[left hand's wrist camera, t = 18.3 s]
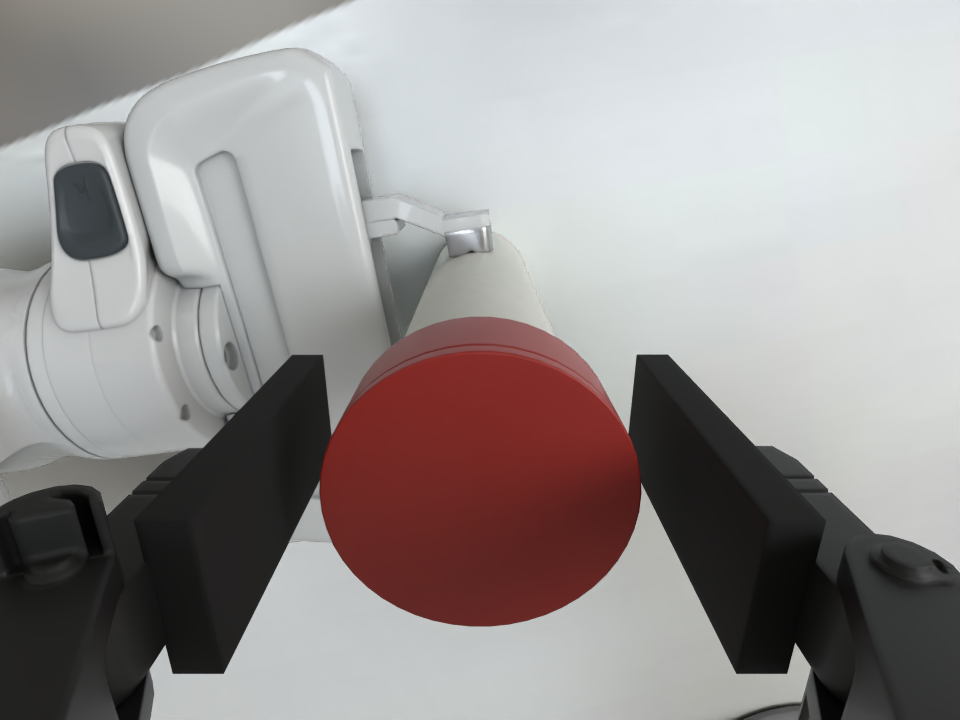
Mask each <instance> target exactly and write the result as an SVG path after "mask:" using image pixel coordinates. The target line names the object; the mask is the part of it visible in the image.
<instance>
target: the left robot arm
mask: <svg viewBox="0 0 960 720" xmlns="http://www.w3.org/2000/svg"><path fill="white" fill-rule="evenodd" d="M331 436H332V435H331V425H330V416H329V406H328V396H327V387H326V377H325V367H324V358H323V355H291V356H290V357H289V359H288V360H287V361H286V362H285V363H284V364H283V365H282V366H281V367H280V368H279V369H278V370H277V371H276V372H275V373H274V374H273V375H272V376H271V377H270V378H269V379H268V380H267V382H266V383H265V384H264V385H263V386H262V387H261V388H260V389H259V390H258V391H257V392H256V393H255V394H254V395H253V396H252V397H251V398H250V399H249V400H248V401H247V402H246V403H245V405H244V406H243V407H242V408H241V409H240V410H239V411H238V412H237V413H236V414H235V415H234V416H233V417H232V418H231V419H230V420H229V421H228V422H227V423H226V424H225V425H224V426H223V428H222V429H221V430H220V431H219V432H218V433H217V434H216V435H215V436H214V437H213V438H212V439H211V440H210V441H209V442H208V443H207V444H206V445H205V446H204V447H203V448H187V449H186V450H184V451H182V452H180V453H178V454H177V455H175V456H173V457H171V458H169V459H168V460H166V461H164V462H163V463H162V464H161V465H159V466H158V467H157V468H156V469H155V470H154V471H153V472H152V473H151V474H150V475H149V476H148V477H147V480H146V481H143V482H142V483H141V484H140V485H139V486H138V487H137V488H135V489H134V490H133V493H132V495H128V496H127V497H126V498H125V499H124V500H123V501H122V502H121V503H120V504H119V505H118V506H117V507H116V508H115V509H114V510H113V511H111V512H110V513H109V514H108V515H106V511H105V508H104V504H103V500H102V497H101V493H100V492H99V491H97V490H96V489H94V488H93V487H91V486H83V485H66V486H56V487H51V488H47V489H43V490H39V491H36V492H32V493H29V494H26V495H24V496H21V497H19V498H16V499H14V500H11V501H9V502H7V503H5V504H3V505H2V506H0V720H150V717H151V711H152V704H153V698H154V689H153V681H152V678H151V674H150V671H149V669H150V667H151V666H152V664H153V663H154V661H155V660H156V658H157V657H158V655H159V654H160V652H161V650H162V649H163V647H164V646H165V645H166V649H167V653H168V656H169V660H170V664H171V668H172V672H173V674H224V672H225V670H226V668H227V666H228V664H229V662H230V660H231V658H232V656H233V654H234V652H235V650H236V648H237V646H238V644H239V642H240V640H241V638H242V636H243V634H244V632H245V630H246V628H247V626H248V624H249V622H250V620H251V618H252V616H253V614H254V612H255V610H256V608H257V606H258V604H259V602H260V600H261V598H262V596H263V594H264V592H265V590H266V587H267V585H268V583H269V581H270V579H271V577H272V575H273V573H274V571H275V569H276V567H277V565H278V563H279V561H280V559H281V557H282V555H283V553H284V551H285V549H286V547H287V545H288V543H289V541H290V539H291V537H292V535H293V533H294V531H295V529H296V527H297V525H298V523H299V521H300V519H301V517H302V515H303V513H304V511H305V509H306V507H307V505H308V503H309V501H310V499H311V497H312V495H313V493H314V491H315V489H316V487H317V485H318V483H319V481H320V472H321V467H322V462H323V457H324V454H325V451H326V448H327V446H328V443H329V440H330V438H331ZM629 436H630V438H631V441H632V443H633V446H634V449H635V452H636V455H637V458H638V463H639V468H640V474H641V483H642V485H643V487H644V489H645V491H646V493H647V495H648V497H649V499H650V501H651V503H652V505H653V507H654V509H655V511H656V513H657V515H658V517H659V519H660V521H661V523H662V525H663V527H664V529H665V531H666V533H667V535H668V537H669V539H670V541H671V543H672V545H673V547H674V549H675V551H676V553H677V555H678V557H679V559H680V561H681V563H682V565H683V567H684V569H685V571H686V573H687V575H688V577H689V579H690V581H691V583H692V585H693V587H694V590H695V592H696V594H697V596H698V598H699V600H700V602H701V604H702V606H703V608H704V610H705V612H706V614H707V616H708V618H709V620H710V622H711V624H712V626H713V628H714V630H715V632H716V634H717V636H718V638H719V640H720V642H721V644H722V646H723V648H724V650H725V652H726V654H727V656H728V658H729V660H730V662H731V664H732V666H733V668H734V670H735V672H736V674H787V672H788V668H789V664H790V660H791V656H792V653H793V649H794V645H795V643H796V644H797V646H798V647H799V649H800V651H801V652H802V654H803V655H804V657H805V658H806V660H807V661H808V663H809V664H810V666H811V671H810V674H809V678H808V681H807V685H806V689H805V692H804V696H803V699H802V703H801V705H797V706H788V707H782V708H776V709H772V710H768V711H764V712H761V713H758V714H755V715H752V716H750V717H747V718H745V719H743V720H960V573H959V572H958V570H957V569H956V568H955V567H954V566H953V565H952V564H950V563H949V562H948V561H946V560H945V559H943V558H942V557H940V556H939V555H937V554H936V553H935V552H932V551H930V550H928V549H926V548H924V547H922V546H920V545H917V544H915V543H913V542H910V541H907V540H903V539H900V538H897V537H893V536H889V535H880V534H875V533H873V532H872V531H871V530H870V529H869V528H868V527H867V526H866V525H865V524H864V523H863V522H862V521H861V520H860V519H859V518H858V517H857V516H856V515H855V514H854V513H852V512H851V511H850V510H849V509H848V508H847V507H846V506H845V505H844V504H843V503H842V502H841V501H840V500H839V499H838V498H837V497H836V496H835V495H834V494H832V493H828V489H827V488H826V487H825V486H824V485H823V484H822V483H821V482H820V481H819V480H818V479H814V475H812V474H811V473H810V472H809V471H808V470H807V469H806V468H805V467H804V466H803V465H802V464H801V463H800V462H799V461H798V460H796V459H795V458H793V457H791V456H789V455H787V454H785V453H784V452H782V451H780V450H778V449H776V448H775V447H773V446H755V445H754V444H753V443H752V442H751V441H750V440H749V439H748V438H747V437H746V436H745V435H744V434H743V433H742V432H741V431H740V430H739V429H738V428H737V426H736V425H735V424H734V423H733V422H732V421H731V420H730V419H729V418H728V417H727V416H726V415H725V414H724V413H723V412H722V411H721V410H720V409H719V408H718V407H717V406H716V405H715V403H714V402H713V401H712V400H711V399H710V398H709V397H708V396H707V395H706V394H705V393H704V392H703V391H702V390H701V389H700V388H699V387H698V386H697V385H696V384H695V383H694V382H693V380H692V379H691V378H690V377H689V376H688V375H687V374H686V373H685V372H684V371H683V370H682V369H681V368H680V367H679V366H678V365H677V364H676V363H675V362H674V361H673V360H672V359H671V357H670V356H669V355H637V358H636V367H635V377H634V387H633V396H632V406H631V416H630V425H629Z"/></svg>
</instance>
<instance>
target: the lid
mask: <svg viewBox="0 0 960 720" xmlns="http://www.w3.org/2000/svg"><path fill="white" fill-rule="evenodd" d="M319 494H320V503H321V511H322V515H323V519H324V522H325V526H326V529H327V532H328V534H329V536H330V539H331V541H332V543H333V545H334V547H335V549H336V550H337V552H338V553H339V555H340V557H341V558H342V560H343V561H344V563H345V564H346V565H347V566H348V568H349V569H350V570H351V571H352V572H353V574H354V575H355V576H356V577H357V578H358V579H359V580H360V581H362V582H363V583H364V584H365V585H366V586H367V587H368V588H369V589H371V590H372V591H373V592H375V593H376V594H377V595H379V596H380V597H381V598H383V599H385V600H386V601H388V602H390V603H391V604H393V605H395V606H397V607H399V608H401V609H403V610H405V611H408V612H410V613H412V614H414V615H417V616H420V617H423V618H427V619H430V620H433V621H438V622H442V623H447V624H452V625H462V626H499V625H509V624H513V623H518V622H523V621H528V620H531V619H534V618H537V617H540V616H544V615H546V614H549V613H551V612H553V611H555V610H558V609H560V608H562V607H564V606H566V605H567V604H569V603H571V602H573V601H574V600H576V599H578V598H579V597H581V596H582V595H583V594H585V593H586V592H587V591H589V590H590V589H591V588H593V587H594V586H595V585H596V584H597V583H598V582H599V581H600V580H601V579H602V578H603V577H604V576H605V575H606V574H607V573H608V572H609V571H610V570H611V568H612V567H613V566H614V565H615V563H616V562H617V561H618V559H619V558H620V556H621V555H622V553H623V551H624V550H625V548H626V546H627V545H628V542H629V540H630V538H631V535H632V533H633V531H634V528H635V525H636V521H637V517H638V514H639V509H640V501H641V474H640V468H639V463H638V458H637V455H636V452H635V449H634V446H633V443H632V441H631V438H630V436H629V435H628V433H627V431H626V429H625V427H624V425H623V423H622V422H621V420H620V418H619V416H618V414H617V412H616V410H615V409H614V407H613V405H612V403H611V401H610V399H609V397H608V396H607V394H606V392H605V390H604V388H603V386H602V384H601V383H600V381H599V379H598V377H597V376H596V374H595V373H594V372H593V370H592V369H591V368H590V366H589V365H588V364H587V362H586V361H585V360H584V359H583V358H582V357H581V356H580V355H579V354H578V353H577V352H576V351H575V350H573V349H572V348H571V347H569V346H568V345H567V344H565V343H564V342H563V341H561V340H560V339H558V338H556V337H555V336H553V335H551V334H549V333H548V332H546V331H544V330H541V329H539V328H536V327H534V326H531V325H529V324H526V323H522V322H518V321H515V320H511V319H505V318H497V317H464V318H456V319H450V320H446V321H442V322H438V323H434V324H432V325H429V326H427V327H424V328H422V329H419V330H417V331H415V332H413V333H411V334H410V335H408V336H406V337H404V338H402V339H401V340H399V341H398V342H397V343H395V344H394V345H393V346H391V347H390V348H389V349H387V350H386V351H385V352H384V353H383V354H382V355H381V356H380V357H379V358H378V359H377V360H376V361H375V362H374V363H373V364H372V366H371V367H370V368H369V370H368V371H367V372H366V374H365V375H364V376H363V378H362V380H361V382H360V384H359V385H358V387H357V389H356V391H355V393H354V395H353V397H352V398H351V400H350V402H349V404H348V406H347V408H346V410H345V412H344V413H343V415H342V417H341V419H340V421H339V423H338V425H337V426H336V428H335V430H334V432H333V434H332V436H331V438H330V440H329V443H328V446H327V448H326V451H325V454H324V457H323V462H322V467H321V472H320V488H319Z"/></svg>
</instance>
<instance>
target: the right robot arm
mask: <svg viewBox="0 0 960 720" xmlns="http://www.w3.org/2000/svg"><path fill="white" fill-rule="evenodd" d="M45 165H46V175H47V186H48V197H49V209H50V224H51V262H49V263H47V264H45V265H43V266H41V267H40V268H38V269H35V270H32V271H20V270H14V269H7V268H0V474H3V473H11V472H19V471H24V470H29V469H34V468H38V467H41V466H44V465H47V464H49V463H52V462H54V461H56V460H58V459H61V458H63V457H66V456H80V457H85V458H91V459H104V460H109V459H120V458H129V457H137V456H145V455H153V454H161V453H169V452H176V451H183V450H186V449H187V448H203V447H204V446H205V445H206V444H207V443H208V442H209V441H210V440H211V439H212V438H213V437H214V436H215V435H216V434H217V433H218V432H219V431H220V430H221V429H222V428H223V426H224V425H225V424H226V423H227V422H228V421H229V420H230V419H231V418H232V417H233V416H234V415H235V414H236V413H237V412H238V411H239V410H240V409H241V408H242V407H243V406H244V405H245V403H246V402H247V401H248V400H249V399H250V398H251V397H252V396H253V395H254V394H255V393H256V392H257V391H258V390H259V389H260V388H261V387H262V386H263V385H264V384H265V383H266V382H267V380H268V379H269V378H270V377H271V376H272V375H273V374H274V373H275V372H276V371H277V370H278V369H279V368H280V367H281V366H282V365H283V364H284V363H285V362H286V361H287V360H288V359H289V357H290V356H291V355H323V358H324V367H325V377H326V387H327V396H328V406H329V416H330V425H331V435H332V434H333V432H334V430H335V428H336V426H337V425H338V423H339V421H340V419H341V417H342V415H343V413H344V412H345V410H346V408H347V406H348V404H349V402H350V400H351V398H352V397H353V395H354V393H355V391H356V389H357V387H358V385H359V384H360V382H361V380H362V378H363V376H364V375H365V374H366V372H367V371H368V370H369V368H370V367H371V366H372V364H373V363H374V362H375V361H376V360H377V359H378V358H379V357H380V356H381V355H382V354H383V353H384V352H385V351H386V350H387V349H389V348H390V347H391V346H393V345H394V344H395V343H397V342H398V341H399V340H401V339H402V337H401V332H400V327H399V322H398V317H397V312H396V307H395V302H394V297H393V292H392V287H391V282H390V277H389V272H388V267H387V262H386V257H385V252H384V247H383V242H382V237H383V236H390V235H396V234H397V233H398V232H399V231H400V230H401V229H403V227H404V226H405V222H408V223H411V224H413V225H416V226H418V227H421V228H423V229H426V230H429V231H431V232H434V233H436V234H439V235H442V236H444V237H445V236H446V242H447V247H448V253H449V257H454V256H462V255H465V254H467V253H468V252H469V251H470V250H472V251H474V252H476V253H483V252H488V251H491V250H493V249H494V248H493V239H492V231H491V223H490V216H489V210H477V211H470V212H463V213H456V214H449V215H445V212H443V211H441V210H439V209H436V208H434V207H431V206H429V205H427V204H424V203H422V202H419V201H417V200H414V199H412V198H410V197H407V196H405V195H402V194H394V195H387V196H380V197H373V192H372V187H371V182H370V177H369V172H368V167H367V162H366V157H365V152H364V147H363V142H362V137H361V132H360V127H359V122H358V117H357V112H356V107H355V102H354V97H353V92H352V87H351V83H350V81H349V79H348V77H347V76H346V75H345V74H344V73H343V72H342V71H341V70H340V69H338V68H337V67H336V66H335V65H334V64H332V63H331V62H330V61H328V60H327V59H325V58H324V57H322V56H321V55H319V54H317V53H315V52H313V51H310V50H307V49H303V48H286V49H279V50H273V51H268V52H263V53H259V54H254V55H250V56H246V57H242V58H238V59H234V60H230V61H226V62H223V63H220V64H216V65H213V66H210V67H206V68H203V69H200V70H197V71H194V72H192V73H189V74H186V75H183V76H180V77H178V78H175V79H172V80H170V81H168V82H165V83H163V84H161V85H159V86H157V87H155V88H154V89H152V90H150V91H149V92H148V93H146V94H145V95H144V96H143V97H141V98H140V99H139V100H138V102H137V103H136V104H135V105H134V106H133V108H132V110H131V111H130V113H129V115H128V118H127V121H126V122H96V123H87V124H79V125H72V126H67V127H62V128H59V129H57V130H55V131H53V132H52V133H51V134H50V135H49V137H48V139H47V141H46V147H45ZM319 488H320V481H319V483H318V485H317V487H316V489H315V491H314V493H313V495H312V497H311V499H310V501H309V503H308V505H307V507H306V509H305V511H304V513H303V515H302V517H301V519H300V521H299V523H298V525H297V527H296V529H295V531H294V533H293V535H292V537H291V539H290V541H289V543H291V542H300V541H310V542H329V543H332V541H331V539H330V536H329V534H328V532H327V529H326V526H325V522H324V519H323V515H322V511H321V503H320V494H319ZM11 500H13V499H12V498H11V496H10V494H9V492H8V490H7V488H6V486H5V484H4V482H3V480H2V478H1V476H0V506H2V505H3V504H5V503H7V502H9V501H11Z"/></svg>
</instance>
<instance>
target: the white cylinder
mask: <svg viewBox="0 0 960 720" xmlns="http://www.w3.org/2000/svg"><path fill="white" fill-rule="evenodd" d="M492 239H493V248H494V249H493V250H491V251H488V252H483V253H476V252H474V251H472V250H470V251H469V252H468V253H467V254H465V255H462V256H454V257H449V253H448V247H447V245H446V246H445V247H444V248H443V250H442V251H441V253H440V255H439V257H438V259H437V261H436V264H435V266H434V268H433V271H432V273H431V276H430V278H429V280H428V283H427V285H426V287H425V290H424V292H423V295H422V297H421V299H420V302H419V304H418V306H417V309H416V311H415V314H414V316H413V318H412V321H411V323H410V325H409V328H408V330H407V332H406V335H405V337H406V336H408V335H410V334H411V333H413V332H415V331H417V330H419V329H422V328H424V327H427V326H429V325H432V324H434V323H438V322H442V321H446V320H450V319H456V318H464V317H497V318H505V319H511V320H515V321H518V322H522V323H526V324H529V325H531V326H534V327H536V328H539V329H541V330H544V331H546V332H548V333H549V334H551V335H553V336H555V334H554V332H553V329H552V327H551V325H550V322H549V320H548V317H547V315H546V313H545V310H544V308H543V306H542V303H541V301H540V299H539V296H538V294H537V292H536V289H535V287H534V284H533V282H532V280H531V277H530V275H529V273H528V270H527V268H526V266H525V263H524V261H523V259H522V256H521V254H520V253H519V251H518V250H517V248H516V247H515V246H514V245H513V244H512V243H511V242H510V241H509V240H508V239H507V238H505V237H503V236H502V235H500V234H497V233H495V232H492ZM555 337H556V336H555Z"/></svg>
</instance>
